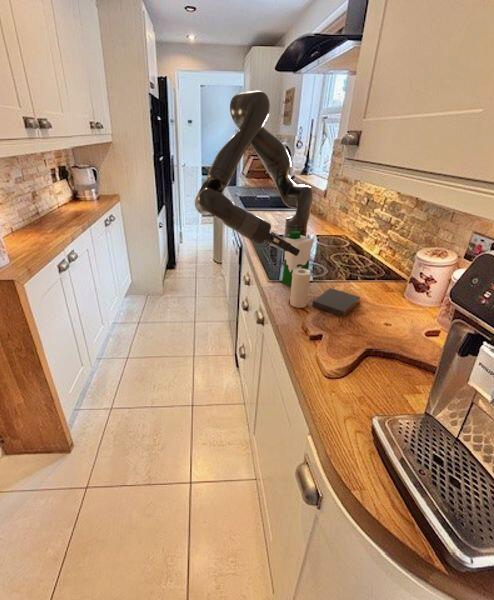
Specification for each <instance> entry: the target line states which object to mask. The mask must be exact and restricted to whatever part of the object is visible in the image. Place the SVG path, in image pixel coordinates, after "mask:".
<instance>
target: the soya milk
mask: <svg viewBox="0 0 494 600" xmlns="http://www.w3.org/2000/svg"><path fill="white" fill-rule="evenodd" d="M300 233H301V232H300V231H297V230H292V231H290V232H289V236H288V237H286V238H284V237H283V239H285V240H286V242H288V243H290V244H291V245H292V246H294V247H295V248H297V249H299V250H300V252H299V254H298V255H297V256H295V255H293V254H291V253H290V252H287V251H285V259H284V264H283V272H282V277H281V283H282V284H284V285H287V286H289V287H291V285H292V274H293V270H294V269H298V268H303V269H307V270H309V266H310V259H311V251H312V248H313V244H314V241H315V239H314V238H311V237H309V236H306V237H305V236H302V235H300Z"/></svg>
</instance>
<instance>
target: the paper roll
mask: <svg viewBox="0 0 494 600" xmlns="http://www.w3.org/2000/svg"><path fill="white" fill-rule="evenodd" d="M311 274H312V271H311V270H310V269H308V270H307V269H303V268H298V269H294V270H293V274H292V285H291V286H290V298H289V304H290V306H291V307H294V308H299V309H300V308H301V309H302V308H305V307H307V305H308V299H309V292H310V291H309V290H310V282H311Z"/></svg>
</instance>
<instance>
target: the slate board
mask: <svg viewBox="0 0 494 600" xmlns="http://www.w3.org/2000/svg"><path fill="white" fill-rule="evenodd" d="M360 300H361V296H358V295H354V294H352V293H348V292H345V291H342V290H338V289H335V288H332V287H330V288H328V289H327V290H325V291H324V292H323V293H322V294H320V295H319V296H318V297H316V298H315V299H313V301H312V305H311V306H312V307H314V308H316V309H320V310H322V311H326V312H328V313H331V314H334V315H336V316H339V317H343V318H344V317H345V316H346V315H347V314H348V313H349V312H350V311H351V310H353V309H354V308H355V307H356V306H357V305H358V304H359V303H360V302H361V301H360Z"/></svg>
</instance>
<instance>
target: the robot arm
mask: <svg viewBox="0 0 494 600" xmlns="http://www.w3.org/2000/svg"><path fill="white" fill-rule="evenodd" d="M270 102H271V101H270V99H269V96H268V95H267V93H265V92H264V91H262V90H250V91H244V92H240V93H236V94H235V95H233V97H231V100H230V103H229V112H230V116H231V119H232V121H233V123H234V125H236V127H237V130H236V132H235V133H234V135H232V137H231V138H230V139H229V140H228V141H227V142H226V143H225V144H224V145H223V146H222V147H221V149H220V150H219V151H218V152H217V154H216V156H215V158H214V160H213V162H212V164H211V165H210V168H209V170H208V173H207V176H206V178H205V180H204V181H203V183H202V185H201V187H200V188H199V191H198V193H197V194H196V197H195V199H194V208H195V209H196V211H197V212H198V213H199V214H200V215H203V216H208V215H209V216H210V215H213V216H214V217H216V218H218V219H219V220H220V221H221V223H222V224H223V225H224V226H226V227H228V228H229V229H231V230H234V231H235V232H237V234H239V235H240V236H242V237H243V238H245V239H248V240H250V241H251V242H253V243H255V244H256V245H262V244H264V242H265V243H266V244H268V245H270V246H274V247H275V248H277V249H279V250H282V259H281V263H282V264H283V265H284V259H285V251H287V252H290V253H291V254H293V255H295V256H297V255H298V254H299V252H300V250H299V249H297V248H295V247H294V246H292V245H291V244H290V243H288V242H286V240H285V239H284V238H286V237H288V236H289V232H290V231H292V230H297V231H300V232H301V233H300V235H302V236H305V237H307V233H308V224H309V220H310V217H311V213H312V205H313V197H314V192H313V188H312V186H309V185H305V184H298V183H295V182H294V181H293V180H292V179H291V176H290V171H291V167H292V161H291V156H290V154H289V151H288V150H287V148H286V146H285V145H284V144H283V142H282V141H281V139H279V138H278V137H276V136H275V135H274V134H273V133H271V132H270V131H269V130H268V129H266V128H265V127H264V125H265V122H266V121H267V120H268V117H269V115H270V111H271V103H270ZM250 146H251V147H252V148H253V150H254V152H255V153H256V155H257V157H258V158H259V160H260V161H261V164H262V165H263V167H264V169H265V170H266V172H267V174H269V176H270V178H271V179H272V182H273V183H274V185H275V186H276V189H277V191H278V193H279V196H280V199H281V200H282V202H283V204H284V205H285V206H287V207H288V208H292V209H296V210H295V214H294V215H293V214H292V215H288V216H287V217H285V222H284V237H281V236H280V235H279V234H278V233H276V232H274V231H271V230H272V225H271V223H270V222H268V221H266V220H265V219H263V218H261V217H259V216H258V215H256V214H254V213H252V212H251V211H249V210H246V209H244V208H243V207H242V206H239V205H237V204H236V203H234V202H233V201H232V200H230V199H229V198H228V197H227V196H226V195H225V194H223V192H224V190H225V189H226V188H227V187H228V186H229V184H230V182H231V180H232V178H233V176H234V174H235V172H236V170H237V167H238V165H239V163H240V161H241V160H242V158H243V157H244V154H245V153H246V151H247V150H248V148H249V147H250Z"/></svg>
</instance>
